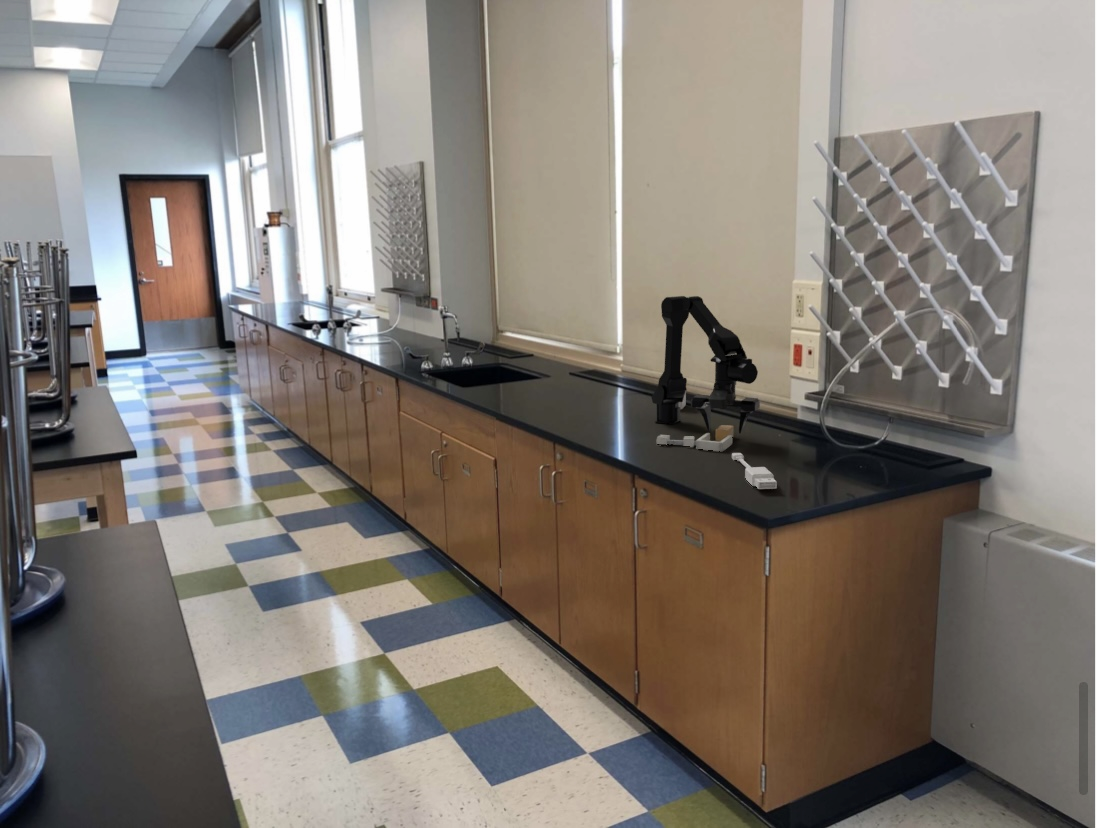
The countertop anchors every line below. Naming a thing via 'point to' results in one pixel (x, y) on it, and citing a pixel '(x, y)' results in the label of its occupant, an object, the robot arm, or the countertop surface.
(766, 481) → the charging cable
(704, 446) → the end holder
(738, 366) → the robot arm
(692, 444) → the clip
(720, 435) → the tan rectangular block
